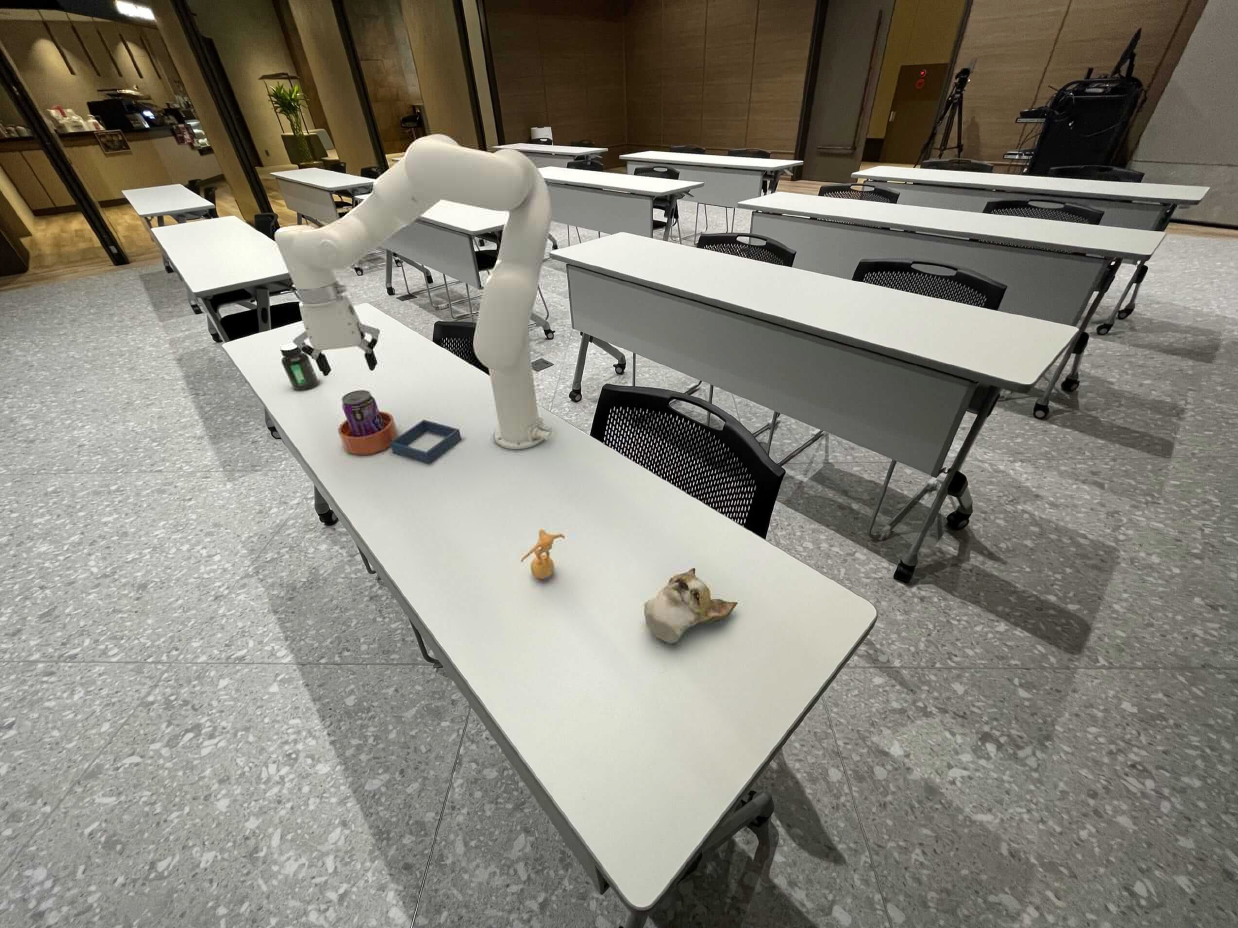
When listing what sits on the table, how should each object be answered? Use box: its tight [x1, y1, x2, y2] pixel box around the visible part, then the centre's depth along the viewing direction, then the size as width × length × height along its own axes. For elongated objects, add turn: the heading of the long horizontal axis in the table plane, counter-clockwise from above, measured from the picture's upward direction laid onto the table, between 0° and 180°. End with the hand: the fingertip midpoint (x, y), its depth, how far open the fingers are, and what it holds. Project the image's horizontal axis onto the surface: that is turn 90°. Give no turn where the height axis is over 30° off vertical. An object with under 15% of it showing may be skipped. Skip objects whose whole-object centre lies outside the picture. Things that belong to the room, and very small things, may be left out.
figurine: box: [520, 528, 565, 580], centre depth 83 cm, size 8×6×12 cm
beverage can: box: [341, 389, 385, 437], centre depth 119 cm, size 7×7×12 cm
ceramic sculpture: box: [643, 567, 739, 644], centre depth 77 cm, size 11×9×15 cm
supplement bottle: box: [279, 343, 319, 391], centre depth 144 cm, size 7×7×12 cm
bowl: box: [337, 410, 400, 456], centre depth 121 cm, size 12×12×5 cm
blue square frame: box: [390, 419, 462, 465], centre depth 119 cm, size 11×11×3 cm
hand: (350, 370), depth 112 cm, fingers open, 9 cm apart
